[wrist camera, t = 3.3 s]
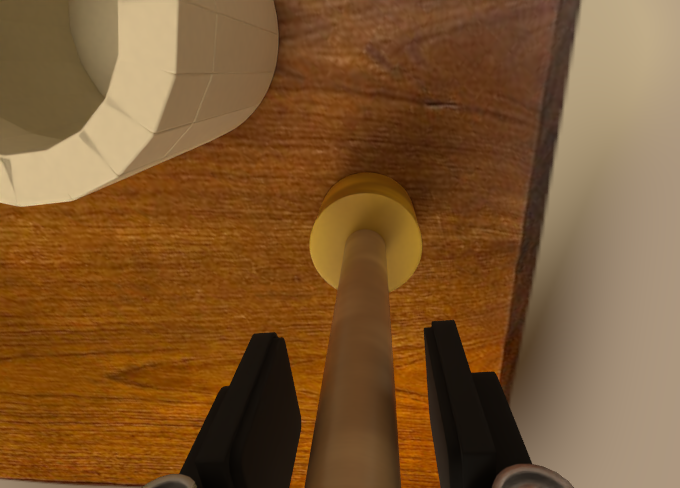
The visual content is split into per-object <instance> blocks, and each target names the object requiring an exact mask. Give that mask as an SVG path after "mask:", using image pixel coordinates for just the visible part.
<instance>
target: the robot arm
mask: <svg viewBox="0 0 680 488" xmlns="http://www.w3.org/2000/svg"><path fill="white" fill-rule="evenodd" d="M424 340H425V355H426V370H427V385H428V400H429V414H430V423H431V429H432V436H433V442H434V448H435V455H436V461H437V467H438V473H439V480H440V486H441V488H574V487H573V486H572V485H571V484H570V482H569V481H568V480H566V479H565V478H563V477H562V476H561V475H559V474H558V473H557V472H554V471H552V470H550V469H548V468H545V467H543V466H538V465H534V464H532V462H531V460H530V457H529V455H528V452H527V450H526V447H525V445H524V442H523V440H522V438H521V435H520V432H519V430H518V427H517V425H516V422H515V420H514V417H513V415H512V412H511V410H510V407H509V405H508V402H507V400H506V397H505V395H504V392H503V390H502V387H501V385H500V382H499V380H498V377H497V375H496V373H495V372H477V373H471V371H470V368H469V365H468V362H467V359H466V355H465V352H464V349H463V346H462V343H461V340H460V337H459V333H458V330H457V327H456V324H455V321H454V320H446V321H432V327H429V328H424ZM300 432H301V415H300V410H299V405H298V401H297V396H296V391H295V386H294V382H293V377H292V372H291V367H290V363H289V358H288V353H287V348H286V344H285V340H284V338H283V337H281V338H278V336H277V334H276V333H275V332H272V333H258V334H253V336H252V338H251V340H250V342H249V344H248V347H247V349H246V351H245V353H244V355H243V357H242V360H241V362H240V364H239V366H238V368H237V370H236V373H235V375H234V377H233V379H232V381H231V384H230V386H224V387H223V388H221V390H220V391H219V393H218V395H217V397H216V399H215V401H214V403H213V405H212V407H211V409H210V411H209V413H208V415H207V417H206V419H205V422H204V424H203V426H202V428H201V430H200V432H199V434H198V436H197V438H196V440H195V442H194V444H193V446H192V448H191V450H190V453H189V455H188V457H187V459H186V461H185V463H184V465H183V467H182V469H181V471H180V473H179V474H170V475H166V476H163V477H159V478H157V479H155V480H153V481H151V482H149V483H147V484H146V485H145V486H143V487H142V488H289V486H290V481H291V476H292V472H293V467H294V462H295V457H296V452H297V447H298V442H299V437H300Z"/></svg>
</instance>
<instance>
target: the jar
mask: <svg viewBox="0 0 680 488" xmlns="http://www.w3.org/2000/svg"><path fill="white" fill-rule="evenodd" d="M278 46H279V31H278V22H277V14H276V10H275V5H274V1H273V0H0V203H5V204H10V205H15V206H21V207H23V206H32V205H41V204H50V203H59V202H68V201H73V200H76V199H79V198H81V197H83V196H85V195H88V194H90V193H92V192H95V191H97V190H99V189H102V188H104V187H106V186H108V185H111V184H113V183H115V182H118V181H120V180H122V179H124V178H127V177H129V176H132V175H134V174H136V173H138V172H141V171H143V170H145V169H148V168H150V167H152V166H155V165H157V164H159V163H161V162H164V161H166V160H168V159H171V158H173V157H175V156H178V155H180V154H182V153H185V152H187V151H189V150H191V149H194V148H196V147H198V146H201V145H203V144H205V143H208V142H210V141H212V140H214V139H216V138H218V137H220V136H222V135H224V134H226V133H228V132H230V131H232V130H233V129H235V128H237V127H238V126H239V125H240V124H242V123H243V122H244V121H245V120H246V119H247V118H248V117H249V116H250V115H251V114H252V113H253V112H254V111H255V110H256V108H257V107H258V106H259V104H260V103H261V101H262V100H263V98H264V96H265V94H266V92H267V91H268V88H269V86H270V83H271V81H272V78H273V75H274V71H275V67H276V63H277V56H278Z"/></svg>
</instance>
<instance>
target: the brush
mask: <svg viewBox="0 0 680 488" xmlns="http://www.w3.org/2000/svg"><path fill="white" fill-rule="evenodd" d="M309 246H310V254H311V258H312V261H313V263H314V266H315V268H316V269H317V271H318V273H319V274H320V275H321V277H322V278H323V279H324V280H325V281H326V282H327V283H329V284H330V285H331V286H333V287H334V288H336V289H337V290H338V291H337V297H336V303H335V309H334V315H333V321H332V327H331V333H330V339H329V345H328V351H327V357H326V363H325V369H324V375H323V381H322V386H321V392H320V398H319V404H318V410H317V416H316V422H315V428H314V434H313V440H312V446H311V452H310V458H309V464H308V470H307V476H306V482H305V488H401V478H400V463H399V447H398V431H397V416H396V400H395V384H394V368H393V353H392V337H391V321H390V306H389V292H391V291H393V290H395V289H397V288H399V287H400V286H401V285H403V284H404V283H405V282H406V281H407V280H408V279H409V278H410V277H411V276H412V275H413V273H414V271H415V270H416V268H417V266H418V264H419V262H420V258H421V254H422V236H421V232H420V229H419V225H418V222H417V218H416V214H415V211H414V207H413V204H412V201H411V199H410V197H409V195H408V194H407V192H406V191H405V190H404V188H403V187H402V186H401V185H400V184H399V183H397V182H396V181H395V180H393V179H391V178H389V177H387V176H385V175H382V174H378V173H372V172H361V173H356V174H352V175H349V176H347V177H345V178H343V179H341V180H340V181H338V182H337V183H336V184H335V185H333V187H332V188H331V189H330V190H329V191H328V193H327V194H326V196H325V198H324V200H323V202H322V205H321V207H320V210H319V212H318V215H317V217H316V220H315V222H314V225H313V228H312V231H311V235H310V245H309Z"/></svg>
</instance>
